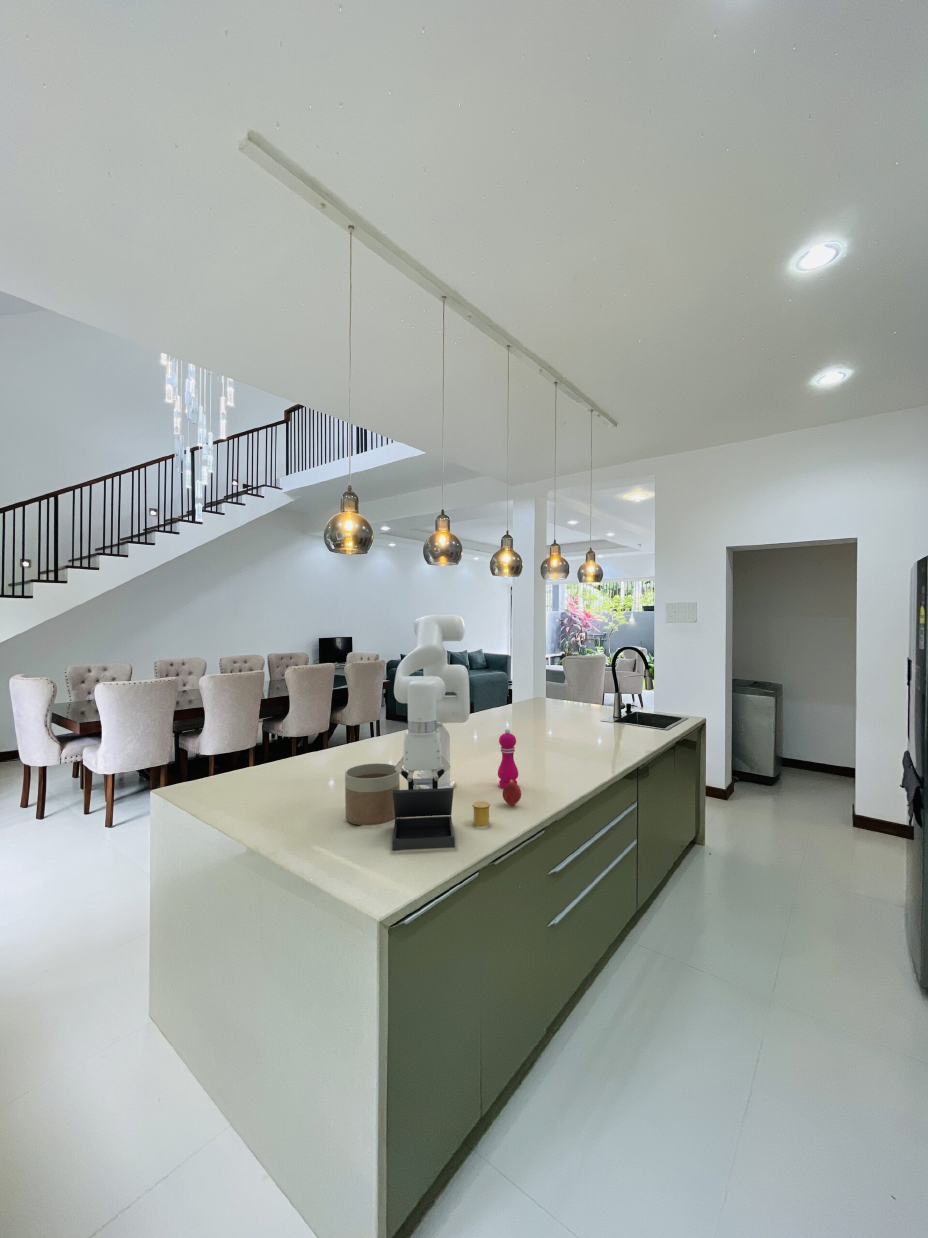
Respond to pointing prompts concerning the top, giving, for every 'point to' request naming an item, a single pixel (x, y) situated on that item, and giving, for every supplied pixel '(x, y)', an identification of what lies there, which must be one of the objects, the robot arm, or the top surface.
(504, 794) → the onion
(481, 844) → the top surface
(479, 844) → the top surface
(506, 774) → the pepper mill
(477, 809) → the coffee pod
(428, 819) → the dark grey lidded tray
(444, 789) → the lid
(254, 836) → the top surface
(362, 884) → the top surface
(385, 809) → the planter
